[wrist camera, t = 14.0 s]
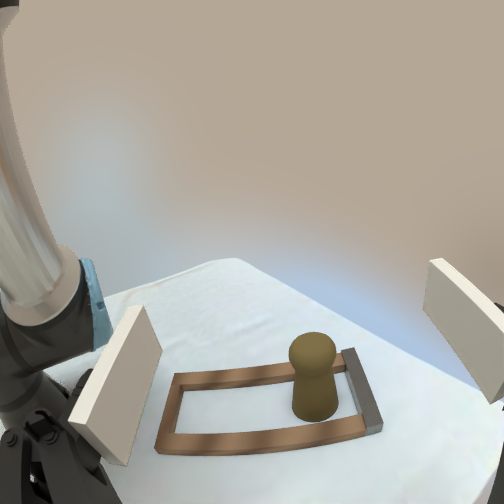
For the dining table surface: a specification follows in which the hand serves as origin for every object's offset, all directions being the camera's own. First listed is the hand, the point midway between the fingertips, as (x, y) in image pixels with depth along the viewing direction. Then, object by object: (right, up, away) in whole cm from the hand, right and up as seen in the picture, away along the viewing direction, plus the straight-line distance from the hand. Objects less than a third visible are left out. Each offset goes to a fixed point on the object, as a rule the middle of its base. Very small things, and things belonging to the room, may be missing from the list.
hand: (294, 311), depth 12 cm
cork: (+6, -17, +21) cm, 28 cm away
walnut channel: (-1, -18, +22) cm, 28 cm away
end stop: (+12, -16, +21) cm, 29 cm away
